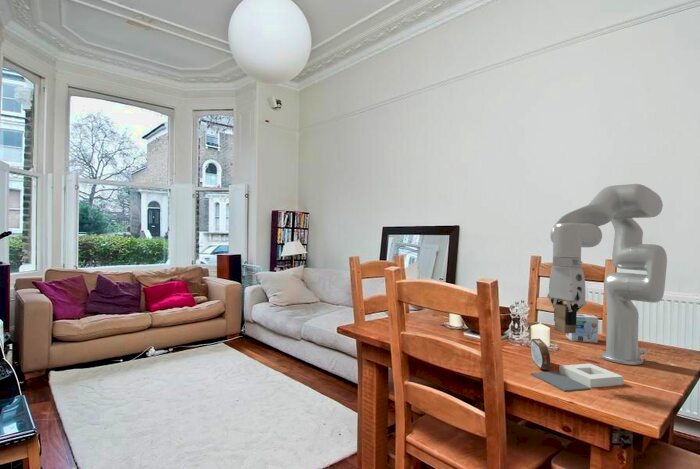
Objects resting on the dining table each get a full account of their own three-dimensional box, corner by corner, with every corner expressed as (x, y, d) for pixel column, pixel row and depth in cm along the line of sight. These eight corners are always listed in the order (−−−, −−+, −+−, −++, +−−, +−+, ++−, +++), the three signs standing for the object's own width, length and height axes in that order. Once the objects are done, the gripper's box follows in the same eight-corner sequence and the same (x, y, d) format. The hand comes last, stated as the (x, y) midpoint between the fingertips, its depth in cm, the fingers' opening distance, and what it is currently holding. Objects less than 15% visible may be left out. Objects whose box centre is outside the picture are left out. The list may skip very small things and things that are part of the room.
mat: (554, 372, 127) (554, 371, 127) (590, 389, 113) (590, 387, 113) (530, 374, 125) (530, 373, 125) (564, 391, 111) (564, 390, 111)
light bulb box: (571, 341, 167) (571, 316, 167) (565, 337, 173) (565, 313, 173) (598, 342, 165) (599, 317, 165) (591, 338, 171) (591, 314, 172)
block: (565, 329, 122) (565, 304, 122) (575, 333, 118) (576, 306, 118) (554, 330, 121) (555, 304, 121) (564, 333, 117) (565, 306, 117)
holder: (589, 371, 129) (590, 363, 129) (623, 384, 117) (623, 376, 117) (559, 373, 126) (559, 365, 126) (590, 387, 114) (590, 379, 114)
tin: (551, 373, 126) (551, 347, 126) (540, 372, 127) (541, 346, 127) (538, 359, 141) (538, 336, 141) (529, 358, 141) (529, 335, 141)
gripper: (600, 265, 112) (598, 329, 112) (556, 261, 128) (554, 317, 128) (578, 265, 110) (576, 329, 110) (536, 261, 127) (535, 317, 126)
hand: (564, 322), depth 119 cm, fingers closed on block, 4 cm apart
